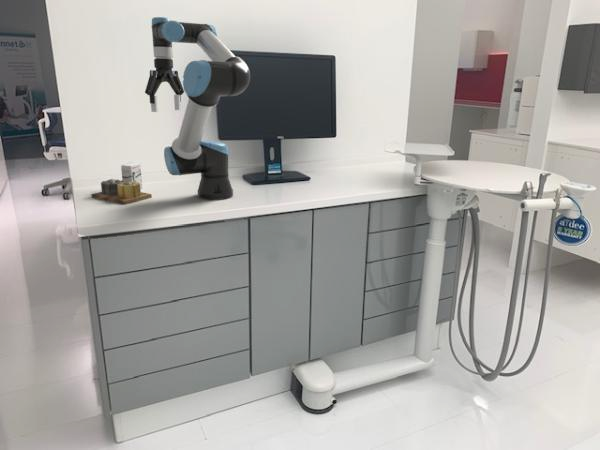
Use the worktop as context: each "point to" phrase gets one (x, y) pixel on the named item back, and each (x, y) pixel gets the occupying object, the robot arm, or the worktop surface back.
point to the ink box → (132, 173)
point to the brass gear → (129, 190)
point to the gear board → (116, 193)
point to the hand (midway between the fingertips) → (166, 111)
